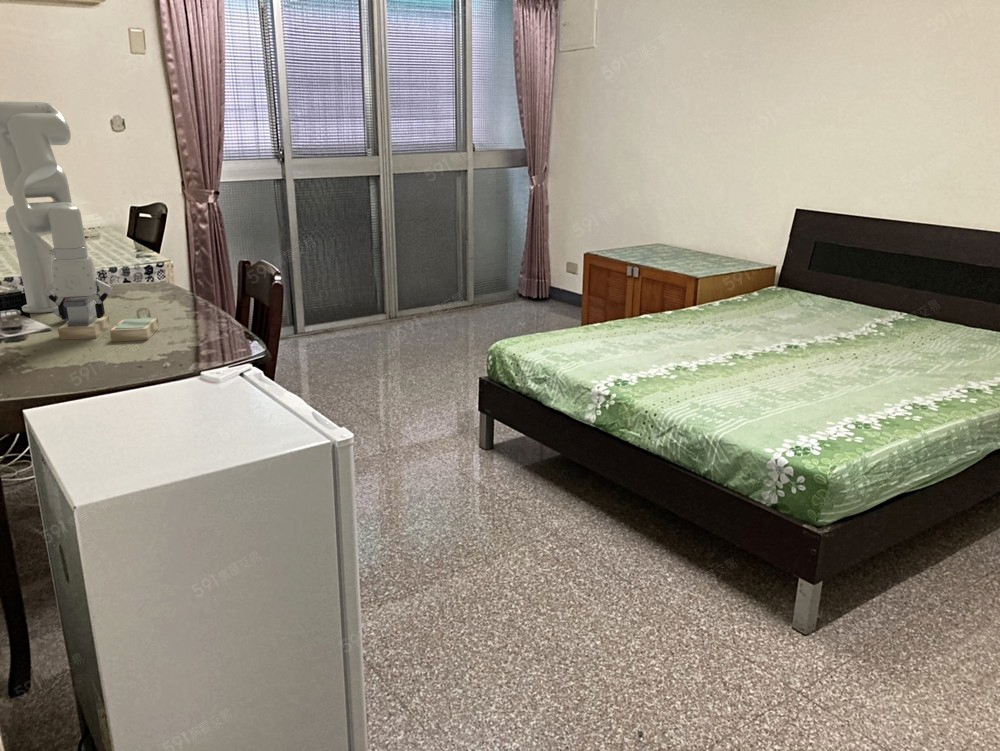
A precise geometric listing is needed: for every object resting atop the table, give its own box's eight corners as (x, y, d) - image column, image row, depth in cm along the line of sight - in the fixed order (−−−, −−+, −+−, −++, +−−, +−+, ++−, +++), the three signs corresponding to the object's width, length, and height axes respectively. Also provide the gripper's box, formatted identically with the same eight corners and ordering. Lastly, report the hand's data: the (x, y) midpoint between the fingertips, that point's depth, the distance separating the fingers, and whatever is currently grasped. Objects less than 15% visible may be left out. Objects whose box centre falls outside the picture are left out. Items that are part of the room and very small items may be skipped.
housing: (79, 318, 210) (75, 295, 208) (99, 317, 211) (95, 294, 209) (67, 326, 202) (63, 302, 200) (88, 326, 203) (83, 301, 201)
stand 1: (75, 327, 212) (73, 317, 211) (110, 326, 214) (108, 316, 213) (59, 339, 201) (57, 328, 200) (96, 338, 203) (94, 327, 202)
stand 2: (124, 329, 211) (123, 318, 210) (159, 328, 212) (157, 316, 211) (111, 341, 200) (109, 329, 199) (147, 339, 201) (146, 328, 200)
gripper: (29, 257, 196) (42, 322, 201) (102, 255, 198) (113, 320, 204) (41, 252, 203) (53, 315, 208) (111, 250, 205) (121, 313, 211)
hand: (83, 317), depth 206 cm, fingers open, 8 cm apart
